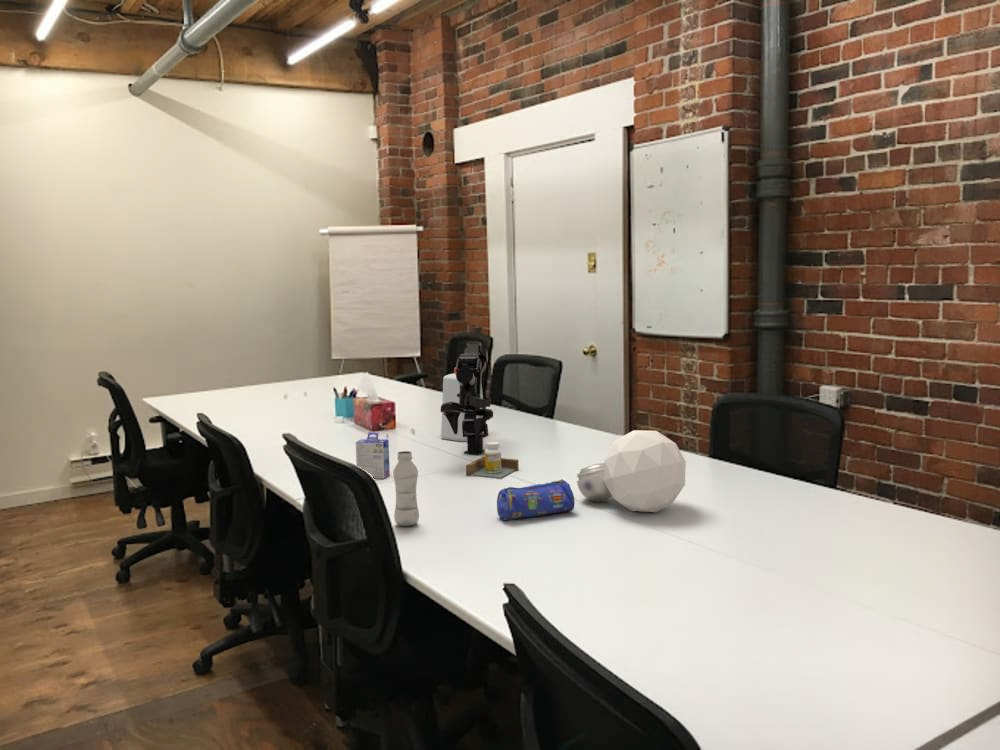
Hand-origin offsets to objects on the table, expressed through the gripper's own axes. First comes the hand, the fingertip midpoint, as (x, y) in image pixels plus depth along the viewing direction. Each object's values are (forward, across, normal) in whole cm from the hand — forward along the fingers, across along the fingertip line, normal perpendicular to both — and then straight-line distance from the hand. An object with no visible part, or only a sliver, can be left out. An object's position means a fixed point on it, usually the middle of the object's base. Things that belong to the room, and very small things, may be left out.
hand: (466, 436), depth 285 cm
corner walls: (+12, +6, -7) cm, 16 cm away
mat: (+12, +6, -7) cm, 16 cm away
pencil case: (+30, -12, -47) cm, 57 cm away
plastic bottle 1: (+34, -42, -29) cm, 61 cm away
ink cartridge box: (+15, -24, +18) cm, 34 cm away
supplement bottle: (+12, +6, -7) cm, 15 cm away
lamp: (+27, +12, -60) cm, 67 cm away
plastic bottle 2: (-8, +30, +40) cm, 51 cm away
